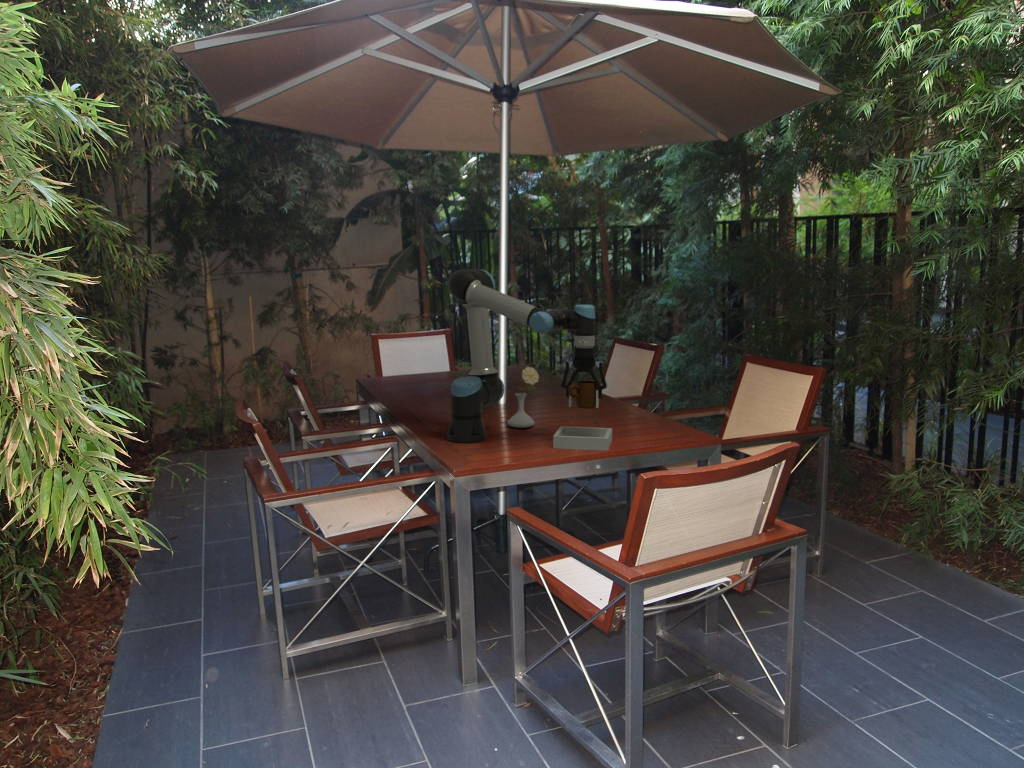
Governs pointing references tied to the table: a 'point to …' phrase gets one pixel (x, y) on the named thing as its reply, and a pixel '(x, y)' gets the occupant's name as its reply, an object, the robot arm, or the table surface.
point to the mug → (584, 394)
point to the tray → (582, 438)
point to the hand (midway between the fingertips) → (583, 406)
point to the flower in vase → (521, 417)
